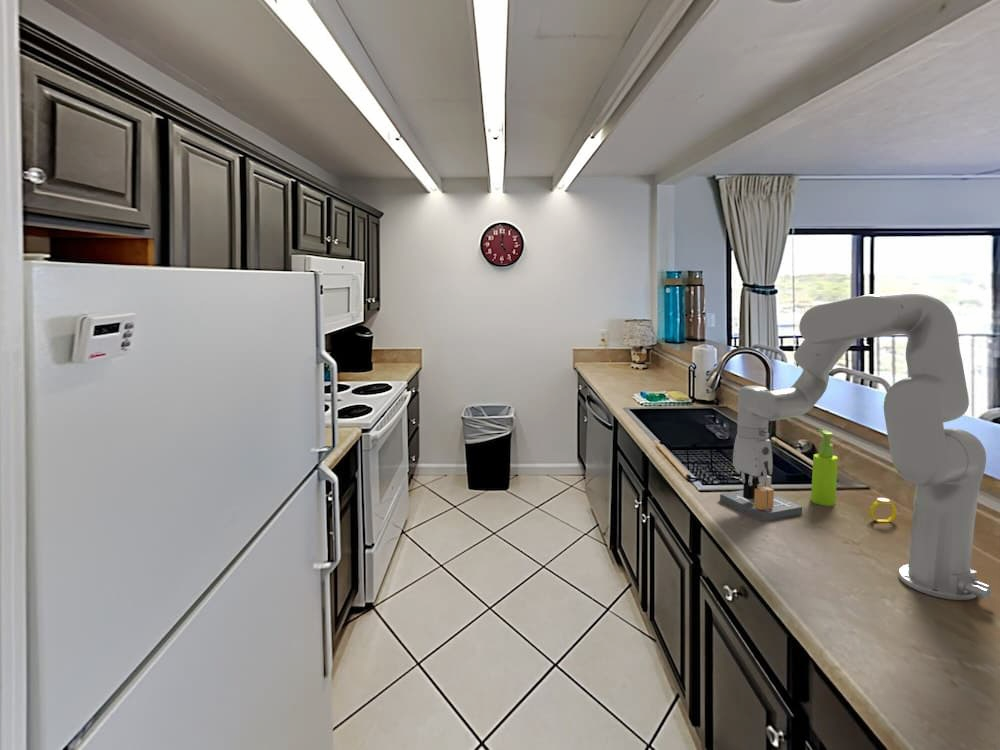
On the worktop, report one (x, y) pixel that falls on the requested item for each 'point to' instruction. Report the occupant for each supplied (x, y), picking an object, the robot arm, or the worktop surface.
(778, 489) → the worktop surface
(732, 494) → the mixer panel
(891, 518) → the watch
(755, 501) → the fader orange
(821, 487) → the soap dispenser
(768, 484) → the fader ivory
